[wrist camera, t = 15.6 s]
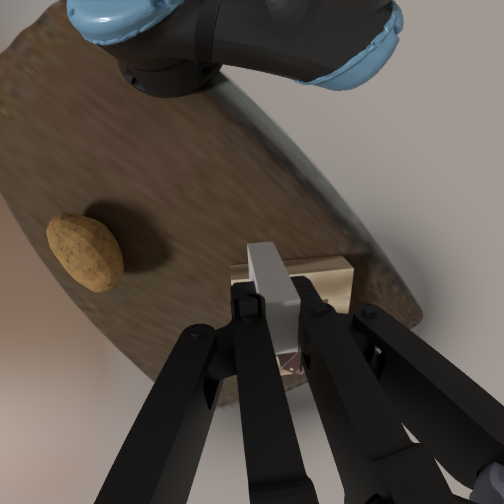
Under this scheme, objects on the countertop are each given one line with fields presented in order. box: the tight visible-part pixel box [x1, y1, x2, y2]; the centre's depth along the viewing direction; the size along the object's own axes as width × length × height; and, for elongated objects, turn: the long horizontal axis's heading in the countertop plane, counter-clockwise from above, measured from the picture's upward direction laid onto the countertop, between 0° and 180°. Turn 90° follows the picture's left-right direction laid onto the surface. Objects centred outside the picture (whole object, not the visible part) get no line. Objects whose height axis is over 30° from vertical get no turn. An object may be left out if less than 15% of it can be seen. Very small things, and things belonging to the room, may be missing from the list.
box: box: [277, 343, 305, 377], centre depth 43 cm, size 6×4×12 cm
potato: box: [46, 213, 124, 292], centre depth 36 cm, size 10×14×8 cm
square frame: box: [230, 255, 354, 375], centre depth 46 cm, size 20×18×5 cm
